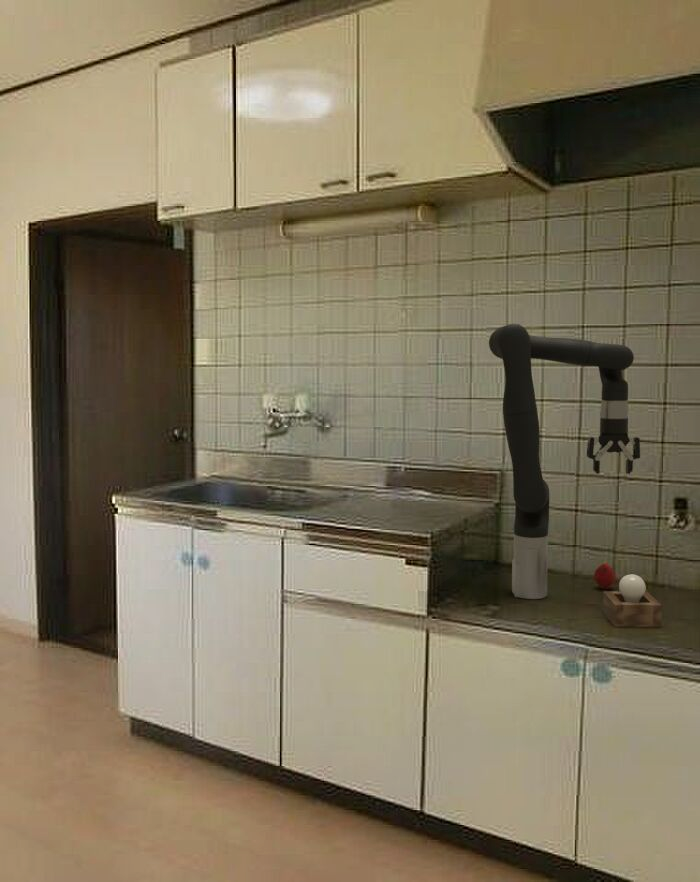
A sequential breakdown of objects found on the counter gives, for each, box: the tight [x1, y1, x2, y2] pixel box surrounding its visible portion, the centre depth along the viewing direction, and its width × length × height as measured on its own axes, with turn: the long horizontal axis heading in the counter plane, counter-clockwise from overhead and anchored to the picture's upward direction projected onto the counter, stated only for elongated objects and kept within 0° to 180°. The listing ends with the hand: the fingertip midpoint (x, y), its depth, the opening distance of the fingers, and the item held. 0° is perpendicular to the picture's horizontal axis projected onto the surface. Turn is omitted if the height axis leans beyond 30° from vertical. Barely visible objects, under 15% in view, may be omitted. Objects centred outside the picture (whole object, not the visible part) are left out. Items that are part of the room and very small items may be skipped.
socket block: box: [602, 590, 663, 628], centre depth 198 cm, size 11×11×6 cm
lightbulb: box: [618, 573, 647, 603], centre depth 198 cm, size 6×6×11 cm
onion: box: [593, 561, 616, 590], centre depth 224 cm, size 6×6×8 cm
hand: (612, 473), depth 223 cm, fingers open, 8 cm apart
